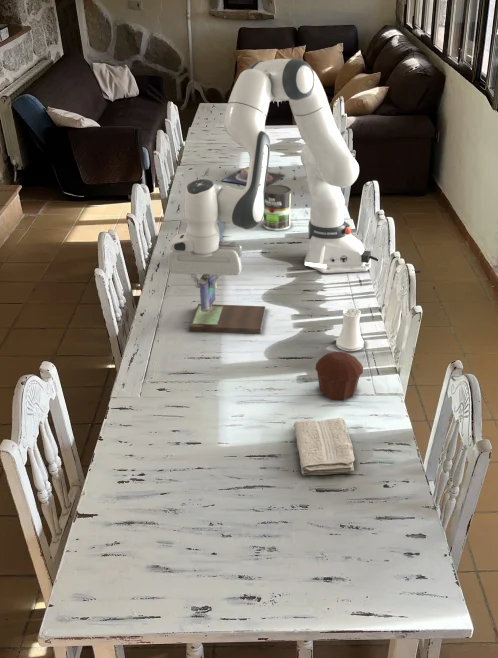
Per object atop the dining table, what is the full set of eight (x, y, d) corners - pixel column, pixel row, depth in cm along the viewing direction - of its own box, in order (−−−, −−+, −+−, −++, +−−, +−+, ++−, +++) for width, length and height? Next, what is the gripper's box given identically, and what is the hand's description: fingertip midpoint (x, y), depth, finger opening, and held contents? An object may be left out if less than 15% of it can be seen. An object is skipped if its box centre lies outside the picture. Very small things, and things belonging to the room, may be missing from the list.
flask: (208, 312, 205) (206, 277, 199) (198, 311, 205) (195, 276, 200) (216, 298, 213) (215, 264, 207) (207, 297, 213) (205, 263, 207)
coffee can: (284, 232, 269) (284, 195, 261) (259, 228, 272) (258, 191, 264) (294, 223, 277) (295, 186, 269) (270, 219, 280) (269, 183, 272)
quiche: (221, 181, 318) (221, 172, 316) (243, 169, 333) (243, 160, 331) (264, 188, 311) (264, 179, 308) (284, 175, 326) (284, 166, 324)
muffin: (308, 397, 178) (309, 362, 172) (322, 374, 187) (323, 340, 181) (354, 407, 175) (357, 372, 169) (367, 383, 183) (369, 349, 178)
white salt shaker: (348, 334, 204) (350, 303, 199) (369, 344, 200) (371, 312, 194) (330, 344, 200) (331, 311, 194) (350, 354, 195) (352, 321, 190)
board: (265, 310, 216) (265, 305, 215) (260, 333, 204) (260, 328, 203) (198, 308, 217) (198, 303, 216) (190, 331, 205) (189, 326, 204)
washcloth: (301, 478, 152) (301, 467, 151) (291, 427, 167) (291, 416, 166) (357, 474, 154) (358, 463, 152) (342, 424, 169) (343, 413, 167)
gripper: (242, 238, 200) (244, 283, 208) (169, 235, 201) (173, 281, 208) (239, 247, 195) (241, 293, 202) (164, 244, 196) (168, 290, 203)
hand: (206, 287), depth 205 cm, fingers closed on flask, 3 cm apart
